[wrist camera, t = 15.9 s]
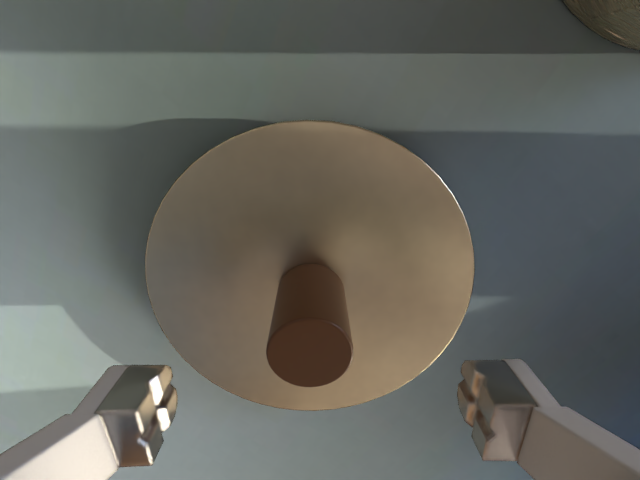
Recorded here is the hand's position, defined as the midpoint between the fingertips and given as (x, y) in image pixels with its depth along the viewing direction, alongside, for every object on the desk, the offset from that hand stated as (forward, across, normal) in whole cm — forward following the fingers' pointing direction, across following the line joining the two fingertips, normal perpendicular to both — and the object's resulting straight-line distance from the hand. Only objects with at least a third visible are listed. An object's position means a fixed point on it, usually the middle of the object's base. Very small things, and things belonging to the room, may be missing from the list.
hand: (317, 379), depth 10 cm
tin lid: (+5, 0, 0) cm, 5 cm away
